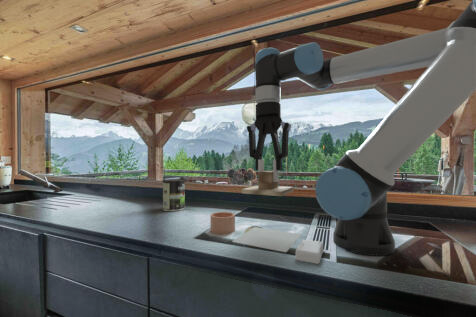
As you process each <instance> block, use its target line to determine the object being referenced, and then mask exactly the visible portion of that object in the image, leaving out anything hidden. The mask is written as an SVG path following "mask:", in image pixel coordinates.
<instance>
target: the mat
mask: <svg viewBox="0 0 476 317" xmlns="http://www.w3.org/2000/svg"><path fill="white" fill-rule="evenodd" d="M301 235H302V233H296V232H288V231H283V230H275V229H269V228H261V227H257V226H256V227H255V226H254V227H253V228H251V229H249V230H248V231H246V232H245V233H243V234H242V235H240V236H238V237H237V238H235V239H233V240H232V241H231V243H237V244H240V245H241V244H242V245H245V246H251V247H257V248H261V249H262V248H263V249H266V250H272V251H276V252H281V253H287V252H288V251H289V250H290V248H291V247H292V246H293V245H294V244H295V243H296V242H297V240H298V239H299V238H300V236H301Z"/></svg>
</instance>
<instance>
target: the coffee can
mask: <svg viewBox="0 0 476 317" xmlns="http://www.w3.org/2000/svg"><path fill="white" fill-rule="evenodd" d="M185 183H186V180H185V178H173V179H171V178H170V179H169V178H168V179H163V180H162V207H163V208H162V210H163V211H164V212H180V211H184V210H185V208H186V202H185V201H186V200H185V197H186V194H185V192H186V186H185V185H186V184H185Z"/></svg>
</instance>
